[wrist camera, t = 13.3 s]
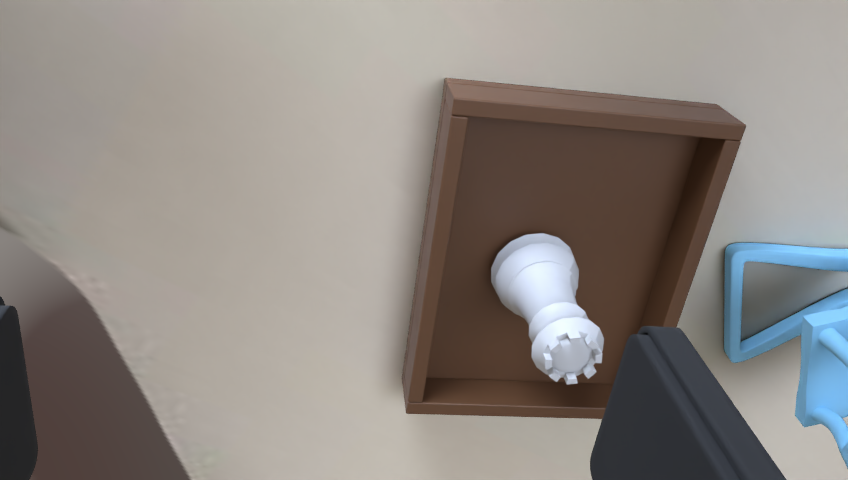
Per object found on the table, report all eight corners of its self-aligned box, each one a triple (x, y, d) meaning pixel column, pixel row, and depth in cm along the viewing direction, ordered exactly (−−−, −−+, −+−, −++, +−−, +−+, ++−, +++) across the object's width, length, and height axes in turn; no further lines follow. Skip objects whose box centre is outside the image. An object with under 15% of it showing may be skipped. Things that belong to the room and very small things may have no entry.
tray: (445, 77, 34) (454, 97, 32) (717, 104, 36) (747, 124, 34) (401, 378, 43) (406, 414, 40) (626, 386, 45) (644, 420, 42)
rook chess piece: (544, 212, 37) (593, 299, 30) (588, 271, 39) (642, 366, 32) (472, 261, 38) (502, 356, 31) (518, 316, 40) (556, 417, 33)
